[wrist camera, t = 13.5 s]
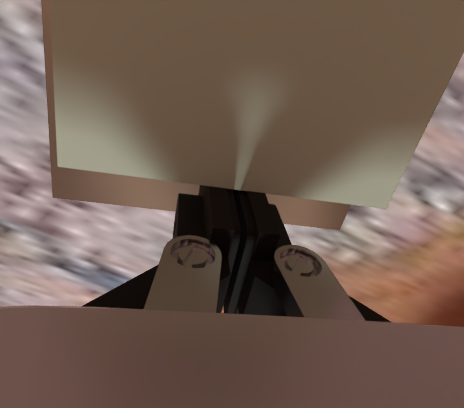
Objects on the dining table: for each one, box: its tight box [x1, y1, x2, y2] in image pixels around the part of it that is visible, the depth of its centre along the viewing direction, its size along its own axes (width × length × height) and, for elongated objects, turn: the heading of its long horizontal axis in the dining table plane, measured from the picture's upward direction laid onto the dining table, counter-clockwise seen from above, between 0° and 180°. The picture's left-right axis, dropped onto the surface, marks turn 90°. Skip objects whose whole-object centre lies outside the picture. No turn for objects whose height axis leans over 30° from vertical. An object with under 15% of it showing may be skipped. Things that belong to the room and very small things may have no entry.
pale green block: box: [50, 0, 464, 209], centre depth 9 cm, size 9×8×4 cm
